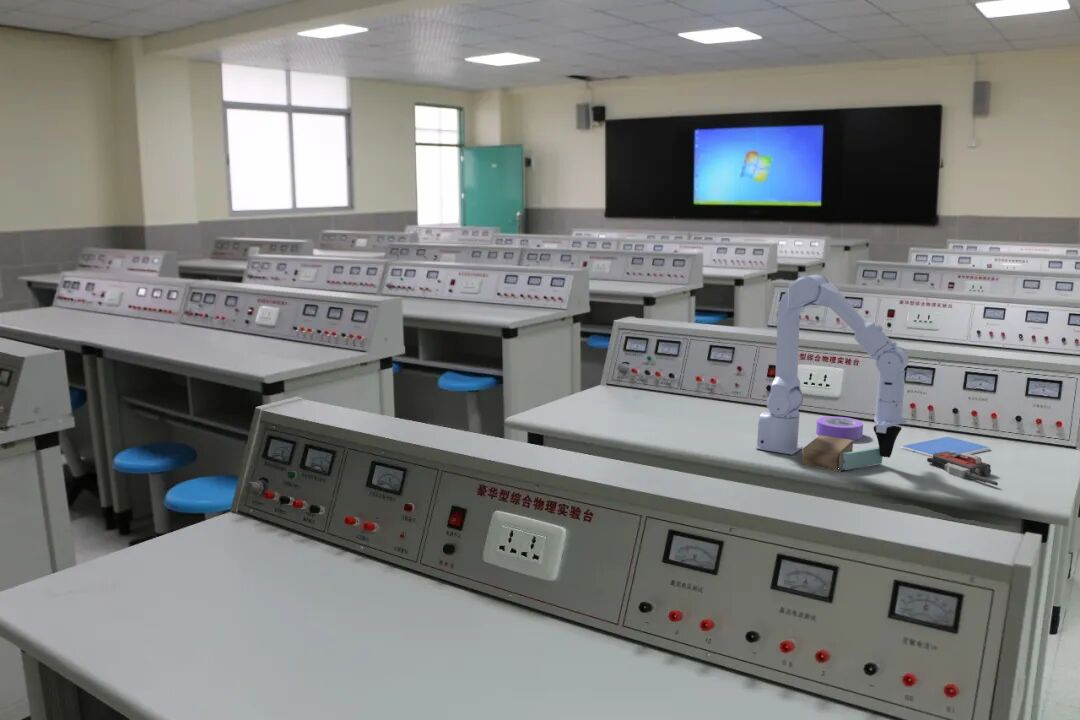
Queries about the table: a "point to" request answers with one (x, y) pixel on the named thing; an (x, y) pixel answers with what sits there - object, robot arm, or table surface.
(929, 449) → the tablet computer
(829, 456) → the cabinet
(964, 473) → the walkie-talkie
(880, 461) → the pale teal rectangular panel
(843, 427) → the masking tape
